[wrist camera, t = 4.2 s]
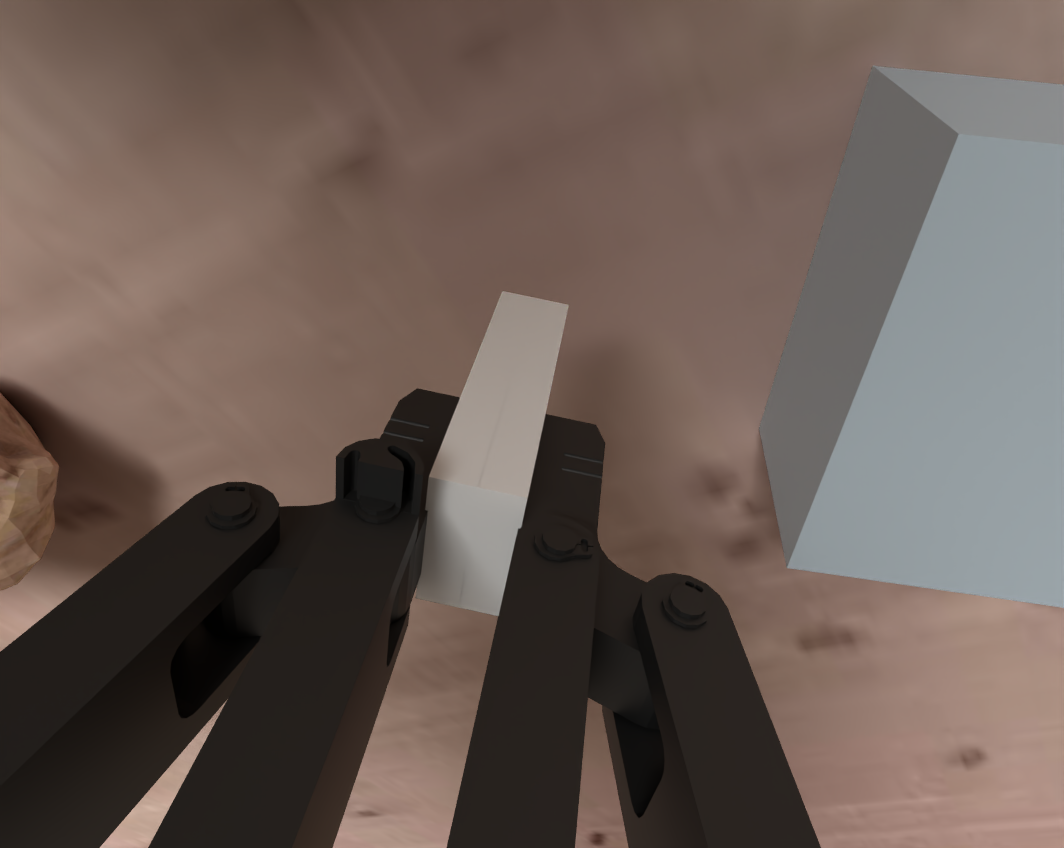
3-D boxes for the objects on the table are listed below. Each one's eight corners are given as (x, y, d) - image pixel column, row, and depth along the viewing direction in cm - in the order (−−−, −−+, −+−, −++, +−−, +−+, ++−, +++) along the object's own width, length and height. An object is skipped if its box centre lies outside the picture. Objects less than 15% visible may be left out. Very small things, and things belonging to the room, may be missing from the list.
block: (758, 425, 27) (786, 567, 21) (870, 64, 20) (958, 133, 14) (985, 455, 26) (1076, 609, 21) (1185, 95, 19) (1407, 180, 14)
